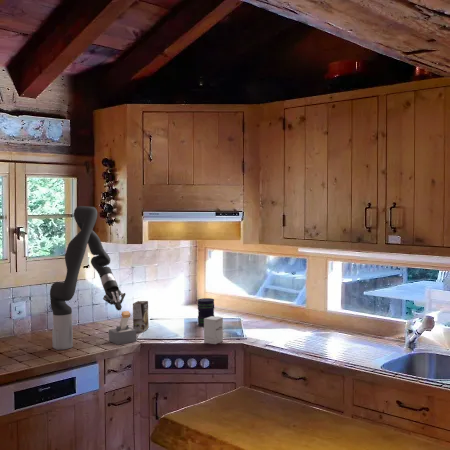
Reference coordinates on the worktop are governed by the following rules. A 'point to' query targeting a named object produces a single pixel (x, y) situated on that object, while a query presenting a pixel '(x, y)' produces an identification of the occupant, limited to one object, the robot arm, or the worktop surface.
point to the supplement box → (213, 330)
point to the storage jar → (205, 310)
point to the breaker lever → (124, 319)
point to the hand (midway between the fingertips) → (119, 309)
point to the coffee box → (140, 316)
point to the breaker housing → (122, 335)
